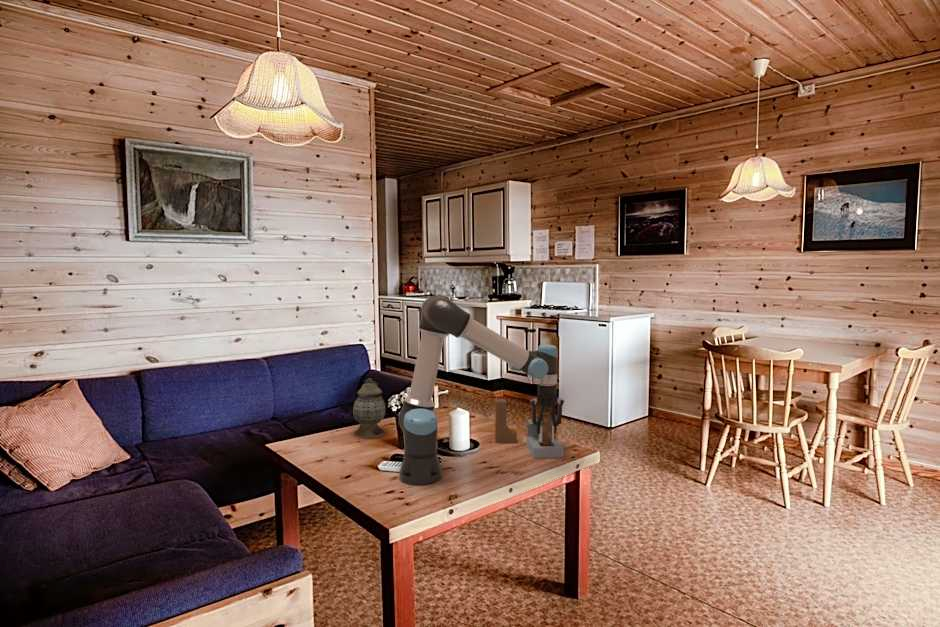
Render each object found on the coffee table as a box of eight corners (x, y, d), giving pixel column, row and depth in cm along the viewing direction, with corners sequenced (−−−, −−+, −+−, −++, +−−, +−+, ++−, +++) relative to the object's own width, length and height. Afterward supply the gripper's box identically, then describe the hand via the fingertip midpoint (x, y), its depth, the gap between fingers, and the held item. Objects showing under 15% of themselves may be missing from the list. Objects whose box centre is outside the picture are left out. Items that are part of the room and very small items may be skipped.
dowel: (542, 450, 227) (542, 416, 225) (540, 447, 231) (540, 413, 229) (552, 450, 227) (552, 415, 225) (549, 446, 231) (550, 413, 229)
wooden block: (515, 439, 246) (516, 399, 244) (516, 443, 241) (517, 401, 240) (495, 439, 246) (495, 398, 244) (495, 443, 241) (495, 401, 240)
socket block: (533, 458, 224) (534, 431, 222) (526, 444, 239) (526, 419, 238) (563, 457, 224) (564, 430, 223) (554, 444, 240) (555, 418, 239)
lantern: (347, 433, 254) (346, 377, 252) (374, 426, 264) (373, 373, 261) (364, 440, 244) (363, 383, 241) (391, 433, 253) (391, 378, 251)
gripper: (527, 386, 222) (526, 444, 224) (570, 385, 223) (569, 443, 225) (524, 382, 229) (523, 438, 231) (566, 381, 230) (564, 437, 233)
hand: (546, 441), depth 228 cm, fingers closed on dowel, 4 cm apart
